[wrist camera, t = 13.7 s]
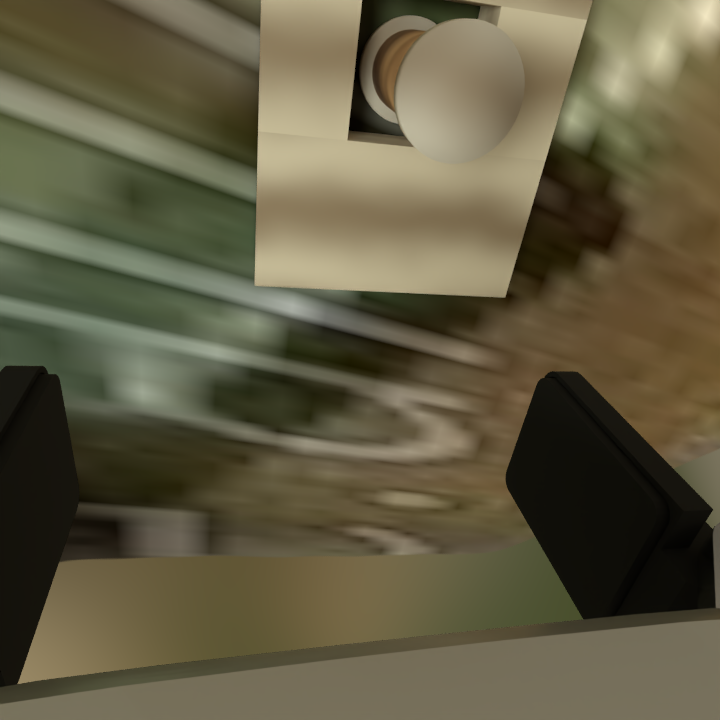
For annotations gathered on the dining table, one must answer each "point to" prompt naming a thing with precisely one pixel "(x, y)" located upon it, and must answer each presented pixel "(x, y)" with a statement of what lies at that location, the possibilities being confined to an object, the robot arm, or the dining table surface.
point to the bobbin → (444, 84)
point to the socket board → (394, 161)
